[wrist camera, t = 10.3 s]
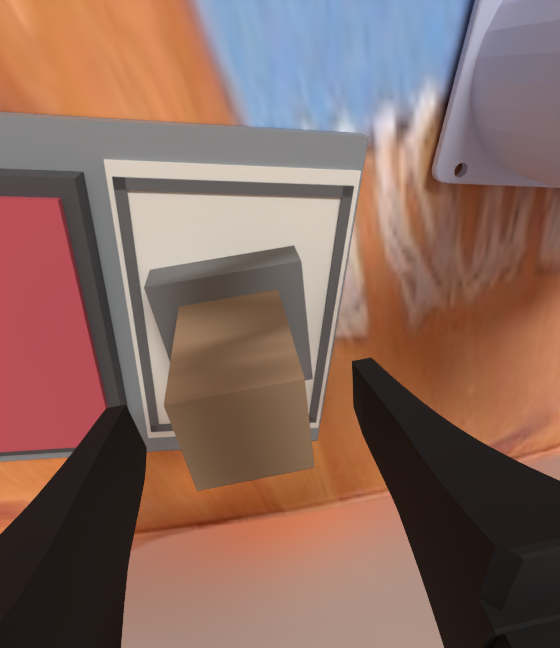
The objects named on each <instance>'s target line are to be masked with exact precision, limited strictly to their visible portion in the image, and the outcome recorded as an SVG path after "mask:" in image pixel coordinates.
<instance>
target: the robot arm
mask: <svg viewBox="0 0 560 648" xmlns="http://www.w3.org/2000/svg"><path fill="white" fill-rule="evenodd" d="M460 163H461V164H462V169H461V171H460V172H459V173H458V174H457V175H455V174H454V170H455V168H456V166H457V165H458V164H460ZM432 175H433V178H434V179H435V180H437V181H439V182H442V183H452V184H477V185H502V186H527V187H552V188H560V0H475V2H474V6H473V10H472V14H471V18H470V21H469V25H468V29H467V33H466V37H465V41H464V45H463V49H462V53H461V57H460V60H459V64H458V68H457V72H456V76H455V80H454V84H453V88H452V92H451V96H450V99H449V103H448V107H447V111H446V115H445V119H444V123H443V127H442V131H441V135H440V138H439V142H438V146H437V150H436V154H435V158H434V162H433V166H432ZM352 372H353V402H354V410H355V413H356V416H357V419H358V422H359V425H360V428H361V431H362V434H363V436H364V438H365V441H366V443H367V445H368V447H369V449H370V451H371V454H372V456H373V458H374V460H375V462H376V464H377V466H378V468H379V470H380V473H381V475H382V477H383V479H384V481H385V483H386V485H387V487H388V489H389V492H390V494H391V496H392V498H393V500H394V503H395V505H396V507H397V510H398V512H399V515H400V518H401V521H402V523H403V526H404V529H405V532H406V534H407V537H408V540H409V543H410V546H411V548H412V551H413V554H414V557H415V560H416V563H417V566H418V568H419V571H420V574H421V577H422V580H423V583H424V586H425V589H426V592H427V595H428V598H429V601H430V604H431V607H432V611H433V614H434V616H435V620H436V623H437V626H438V629H439V632H440V636H441V639H442V642H443V645H444V648H560V481H559V480H557V479H554V478H552V477H550V476H548V475H545V474H543V473H541V472H539V471H537V470H535V469H532V468H530V467H528V466H526V465H524V464H522V463H520V462H518V461H516V460H514V459H512V458H510V457H508V456H506V455H504V454H503V453H501V452H499V451H497V450H495V449H493V448H491V447H489V446H487V445H486V444H484V443H482V442H480V441H479V440H477V439H475V438H474V437H472V436H470V435H469V434H467V433H466V432H464V431H462V430H461V429H459V428H458V427H456V426H455V425H453V424H452V423H450V422H449V421H447V420H446V419H445V418H443V417H442V416H440V415H439V414H438V413H436V412H435V411H434V410H432V409H431V408H430V407H428V406H427V405H426V404H424V403H423V402H422V401H421V400H419V399H418V398H417V397H416V396H414V395H413V394H412V393H411V392H409V391H408V390H407V389H406V388H405V387H403V386H402V385H401V384H400V383H399V382H398V381H397V380H395V379H394V378H393V377H392V376H391V375H390V374H389V373H388V372H386V371H385V370H384V369H383V368H382V367H381V366H380V365H379V364H378V363H377V362H376V361H375V360H373V359H372V358H366V359H361V360H356V361H352ZM146 453H147V447H146V445H145V443H144V441H143V439H142V437H141V435H140V433H139V431H138V428H137V426H136V424H135V422H134V420H133V418H132V416H131V414H130V412H129V410H128V408H127V406H126V404H125V405H120V406H115V407H109V408H106V409H105V410H104V412H103V413H102V414H101V415H100V417H99V418H98V419H97V421H96V422H95V423H94V425H93V426H92V427H91V429H90V430H89V431H88V433H87V434H86V435H85V437H84V438H83V439H82V441H81V442H80V443H79V445H78V446H77V447H76V449H75V450H74V451H73V452H72V454H71V455H70V456H69V458H68V459H67V460H66V461H65V463H64V464H63V465H62V467H61V468H60V469H59V470H58V471H57V472H56V474H55V475H54V476H53V477H52V478H51V480H50V481H49V482H48V483H47V484H46V486H45V487H44V488H43V489H42V490H41V491H40V493H39V494H38V495H37V496H36V497H35V498H34V500H33V501H32V502H31V503H30V504H29V505H28V506H27V507H26V508H25V509H24V510H23V512H22V513H21V514H20V515H19V516H18V517H17V518H16V519H15V520H14V521H13V522H12V523H11V524H10V525H9V526H8V527H7V528H6V529H5V530H4V531H3V532H2V533H1V534H0V648H121V638H122V625H123V613H124V601H125V591H126V581H127V571H128V564H129V557H130V551H131V546H132V541H133V536H134V531H135V526H136V521H137V516H138V511H139V507H140V501H141V496H142V491H143V486H144V480H145V469H146Z"/></svg>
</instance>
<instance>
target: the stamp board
mask: <svg viewBox="0 0 560 648" xmlns="http://www.w3.org/2000/svg"><path fill="white" fill-rule="evenodd" d="M368 138H369V137H368V136H366V135H363V134H360V133H349V132H332V131H315V130H298V129H281V128H265V127H248V126H231V125H214V124H197V123H180V122H164V121H147V120H130V119H113V118H96V117H80V116H63V115H46V114H29V113H12V112H0V462H2V461H17V460H32V459H47V458H62V457H69V456H70V455H71V454H72V452H73V451H74V450H75V449H76V447H77V446H78V445H79V443H80V442H81V441H82V439H83V438H84V437H85V435H86V434H87V433H88V431H89V430H90V429H91V427H92V426H93V425H94V423H95V422H96V421H97V419H98V418H99V417H100V415H101V414H102V413H103V412H104V410H105V409H106V408H109V407H115V406H120V405H125V404H126V406H127V408H128V410H129V412H130V414H131V416H132V418H133V420H134V422H135V424H136V426H137V428H138V431H139V433H140V435H141V437H142V439H143V441H144V443H145V445H146V447H147V452H152V451H167V450H181V448H180V446H179V443H178V441H177V438H176V436H175V433H174V431H173V428H172V425H171V423H170V420H169V418H168V415H167V413H166V410H165V408H164V399H165V393H166V386H167V380H168V373H169V367H170V361H169V358H168V355H167V352H166V349H165V346H164V344H163V341H162V338H161V335H160V332H159V329H158V327H157V324H156V321H155V318H154V315H153V312H152V309H151V307H150V304H149V301H148V298H147V295H146V292H145V290H144V286H145V283H146V280H147V277H148V274H149V271H150V270H151V269H157V268H163V267H168V266H174V265H180V264H186V263H192V262H198V261H204V260H210V259H216V258H222V257H228V256H234V255H240V254H246V253H252V252H258V251H263V250H269V249H275V248H281V247H287V246H293V245H294V246H295V249H296V251H297V253H298V255H299V257H300V259H301V263H302V273H303V283H304V294H305V304H306V314H307V325H308V335H309V345H310V356H311V366H312V376H313V379H311V380H305V386H306V395H307V404H308V413H309V422H310V431H311V440H312V441H317V439H318V433H319V427H320V422H321V416H322V410H323V404H324V398H325V392H326V386H327V380H328V374H329V368H330V362H331V357H332V351H333V345H334V339H335V333H336V327H337V321H338V315H339V309H340V303H341V297H342V291H343V286H344V280H345V274H346V268H347V262H348V256H349V250H350V244H351V238H352V232H353V226H354V221H355V215H356V209H357V203H358V197H359V191H360V185H361V179H362V173H363V167H364V161H365V155H366V150H367V144H368Z"/></svg>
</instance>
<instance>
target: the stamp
mask: <svg viewBox="0 0 560 648" xmlns="http://www.w3.org/2000/svg"><path fill="white" fill-rule="evenodd" d="M144 290H145V292H146V295H147V298H148V301H149V304H150V307H151V309H152V312H153V315H154V318H155V321H156V324H157V327H158V329H159V332H160V335H161V338H162V341H163V344H164V346H165V349H166V352H167V355H168V358H169V361H170V367H169V373H168V380H167V386H166V393H165V399H164V408H165V410H166V413H167V415H168V418H169V420H170V423H171V425H172V428H173V431H174V433H175V436H176V438H177V441H178V443H179V446H180V448H181V451H182V453H183V456H184V458H185V461H186V464H187V466H188V469H189V471H190V474H191V476H192V479H193V481H194V484H195V486H196V489H197V491H200V490H205V489H210V488H215V487H220V486H225V485H230V484H235V483H240V482H245V481H250V480H255V479H260V478H265V477H270V476H275V475H280V474H285V473H290V472H295V471H300V470H305V469H310V468H315V467H314V458H313V449H312V440H311V431H310V422H309V413H308V404H307V395H306V386H305V380H311V379H313V376H312V366H311V356H310V345H309V335H308V325H307V314H306V304H305V294H304V283H303V273H302V263H301V259H300V257H299V255H298V253H297V251H296V249H295V246H294V245H293V246H287V247H281V248H275V249H269V250H263V251H258V252H252V253H246V254H240V255H234V256H228V257H222V258H216V259H210V260H204V261H198V262H192V263H186V264H180V265H174V266H168V267H163V268H157V269H151V270H150V271H149V274H148V277H147V280H146V283H145V286H144Z"/></svg>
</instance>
